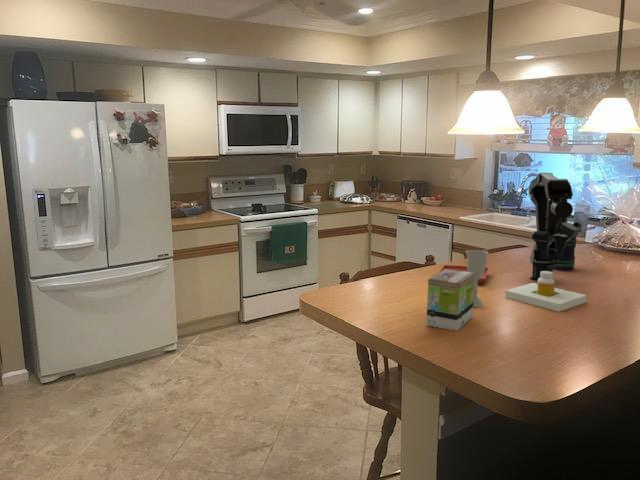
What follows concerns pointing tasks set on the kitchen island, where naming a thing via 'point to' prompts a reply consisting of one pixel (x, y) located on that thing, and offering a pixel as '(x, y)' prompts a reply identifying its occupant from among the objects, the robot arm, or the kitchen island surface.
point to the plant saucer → (464, 268)
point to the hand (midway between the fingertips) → (552, 257)
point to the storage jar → (566, 256)
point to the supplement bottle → (546, 284)
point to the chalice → (476, 269)
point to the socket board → (556, 302)
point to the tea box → (450, 299)
